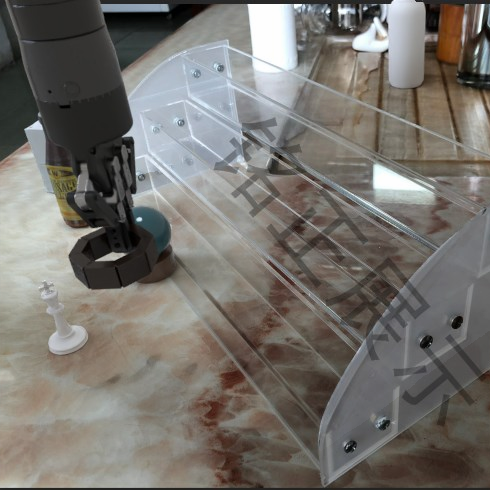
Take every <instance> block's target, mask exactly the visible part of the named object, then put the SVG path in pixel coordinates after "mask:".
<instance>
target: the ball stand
mask: <svg viewBox="0 0 490 490" xmlns="http://www.w3.org/2000/svg"><path fill="white" fill-rule="evenodd" d="M131 209H132V212H133V216H134V219H135V223H136V224H137V225H138V224H139V225H140V226H142V227H143V228H145V229H146V230H148V231H149V232H151V233H152V234H153V235H154V239H155V243H156V246H157V250H158V254H159V257H158V259H157V262H156V264H155V266H154V269H153V271H152V273H150V275H148V276H146V277H144V278H142V279H140V280H138V281H136V282H137V283H139V284H140V283H142V284H151V283H156V282H160V281H162V280H164V279H166V278H168V277H170V276H171V275H172V274H173V273H174V272H175V270H176V269H177V261H175V260H176V257H175V258H174V256H175V253H174V249H173V246H172V244H171V240H172V227H171V224H170V222H169V220H168V218H167V216H166V215H165V214H164V213H163V212H161V211H160V210H159V209H157V208H155V207H152V206H149V205H135V206H133V208H131ZM133 251H135V250H132V252H133ZM130 253H131V252H130ZM127 254H129V253H123V255H124V256H125V255H127ZM136 282H135V283H136Z"/></svg>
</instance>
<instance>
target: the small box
mask: <svg viewBox="0 0 490 490" xmlns="http://www.w3.org/2000/svg"><path fill="white" fill-rule="evenodd" d="M24 133H25V136H26V138H27V142H28V143H29V146H30V148H31V149H30V150H31V152H32V154H33V158H34V160H35V163H36V166H37V168H38V171H39V174H40V177H41V179H42V182H43V185H44V187H45V190H46V192H47V193H51V194H55V193H54V190H53V187H52V184H51V181H50V177H49V174H48V172H47V168H46V165H45V158H46V139H45V134H44V131H43V128H42V125H41V124H40V123H39V119H38V120H37V121H35V122H34V123H33V124H31V125H29V126H28V127H26V128H24Z"/></svg>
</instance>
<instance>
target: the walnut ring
mask: <svg viewBox="0 0 490 490" xmlns="http://www.w3.org/2000/svg"><path fill="white" fill-rule="evenodd" d="M129 228H130V232H131V236H132V239H133V243H134V248H133V250H135V251H133V252H131V253H129V254H127V255H125V254H124V255H123V256H120V257H119V258H117V259H114V260H99V259H101V258H104V257H105V256H107V255H110V254H112V253H114V252H113V251H112V250H111V247H110V244H109V241H108V238H107V234H106V231H105V228H104V227H99V228H97V229H96V230H94V231H91V232H89V233H87V234H84V235H83V236H81V237H79V238H78V239H77V241H76V242H75V243H74V245H73V247H72V249H71V250H70V251H69V253H68V256H67V257H68V260H69V263H70V266H71V269H72V271H73V273H74V277H75V278H76V279H77V280H78V281H79V282H80V283H82V284H83V285H84V286H85V287H86V288H87V289H88V290H91V291H96V290H97V291H98V290H99V291H100V290H120V289H122V288H123V289H124V288H127V287H128V286H131V285H133V284H135V283H136V281H138V280H140V279H142V278H144V277H146V276H148V275H150V273H152V271H153V269H154V266H155V264H156V262H157V259H158V257H159V254H158V250H157V246H156V243H155V239H154V235H153V234H152V233H151V232H149V231H148V230H146V229H145V228H143V227H142V226H140V225H139V224H138V225H137V224H129Z"/></svg>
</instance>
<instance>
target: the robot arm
mask: <svg viewBox="0 0 490 490" xmlns="http://www.w3.org/2000/svg"><path fill="white" fill-rule="evenodd" d="M4 1H5V4H6V7H7V10H8V14H9V16H10V19H11V23H12V25H13V29H14V32H15V34H16V36H17V40H18V41H17V42H18V44H19V49H20V55H21V60H22V63H23V67H24V71H25V73H26V76H27V79H28V82H29V85H30V88H31V91H32V95H33V97H34V101H35V103H36V106H37V109H38V111H39V112H40V115H41V118H42V120H43V123H44V126H45V129H46V132H47V135H48V138H49V139H50V141H51V142H52V143H54V144H55V145H58V146H61V147H63V148H65V149H66V150H68V151H69V152H70V156H71V162H72V170H73V173H74V175H75V176H76V178H77V179H78V182H77V188H76V192H68V193H67V195H66V201H67V204H68V205H69V206H70V207H71V208H72V209H73V210H74V211H75V212H76V213H77V214H78V215H79V216H80V217H81V218H82V219H83V220H84V221H85V222H86V223H87V224H88V225H87V226H89V227H90V229H99V228H102V227H104V228H105V231H106V234H107V238H108V241H109V244H110V247H111V250H112V251H113V252H112V253H114V254H124V253H130V252H132V250H133V248H134V243H133V239H132V236H131V232H130V228H129V224H136V223H135V219H134V216H133V212H132V209H131V208H133V207H134V205H135V204H134V203H135V202H134V198H133V196H132V195H136V194H137V192H138V191H137V190H138V187H137V171H136V169H137V168H136V150H135V149H136V148H135V140H134V139H135V138H134V137H133V136H130V135H129V136H126V135H127V134H128V133H129V132H130V131H131V130H132V128H133V125H134V117H133V115H132V114H133V113H132V110H131V106H130V103H129V98H128V94H127V90H126V86H125V83H124V79H123V74H122V71H121V67H120V63H119V59H118V55H117V51H116V48H115V45H114V43H113V40H112V38H111V35H110V33H109V30H108V26H107V24H106V19H105V16H104V12H103V9H102V8H103V7H102V4H101V1H100V0H4ZM39 112H38V113H39Z"/></svg>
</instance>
